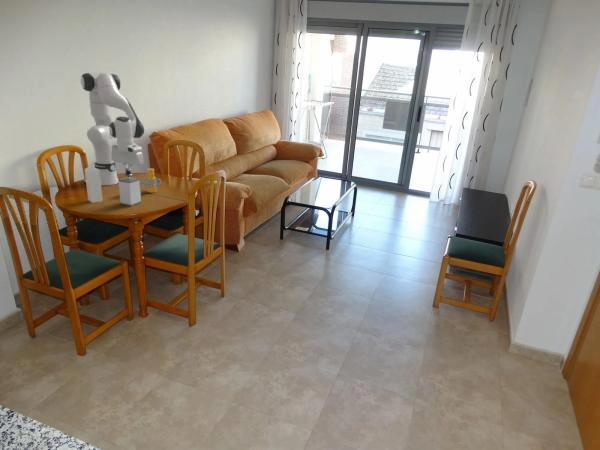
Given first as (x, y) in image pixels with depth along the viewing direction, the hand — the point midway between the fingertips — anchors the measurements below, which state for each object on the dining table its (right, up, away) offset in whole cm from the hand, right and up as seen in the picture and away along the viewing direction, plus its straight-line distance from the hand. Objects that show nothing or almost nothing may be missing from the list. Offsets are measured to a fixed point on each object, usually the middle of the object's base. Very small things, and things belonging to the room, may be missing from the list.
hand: (128, 170), depth 238 cm
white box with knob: (-1, -18, +9) cm, 20 cm away
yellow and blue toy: (+3, -10, +31) cm, 33 cm away
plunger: (-1, -18, +7) cm, 19 cm away
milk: (-23, -17, +7) cm, 29 cm away
